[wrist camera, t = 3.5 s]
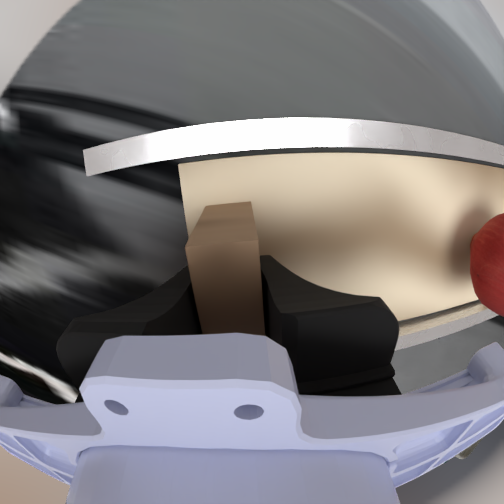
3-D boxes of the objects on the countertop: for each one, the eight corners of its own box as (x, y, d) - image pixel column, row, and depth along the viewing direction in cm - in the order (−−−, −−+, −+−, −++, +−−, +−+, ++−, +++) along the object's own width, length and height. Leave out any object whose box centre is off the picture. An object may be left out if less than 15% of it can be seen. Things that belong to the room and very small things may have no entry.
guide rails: (503, 299, 16) (513, 308, 15) (153, 359, 16) (148, 376, 15) (528, 156, 11) (542, 159, 10) (99, 148, 11) (83, 150, 10)
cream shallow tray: (488, 291, 16) (528, 327, 11) (210, 340, 15) (202, 416, 10) (510, 170, 12) (564, 188, 7) (180, 163, 12) (138, 179, 7)
